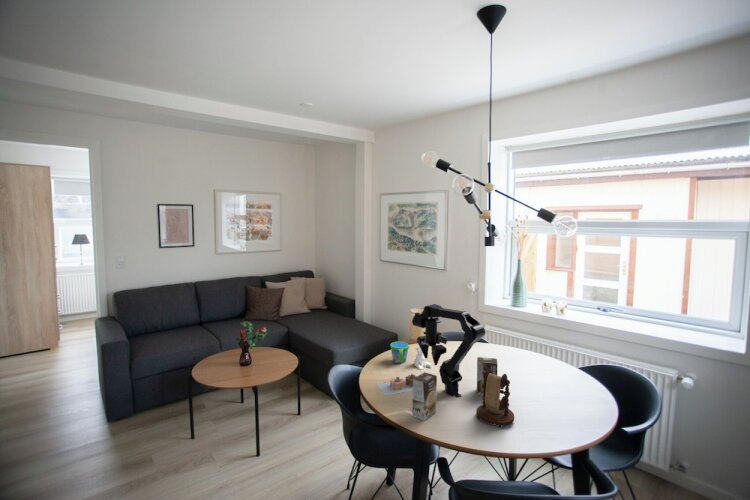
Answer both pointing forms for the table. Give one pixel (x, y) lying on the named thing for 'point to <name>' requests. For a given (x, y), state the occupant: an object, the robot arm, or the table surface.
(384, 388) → the gear board
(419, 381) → the coffee box
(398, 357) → the snack cup
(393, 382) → the salmon gear
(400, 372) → the table surface
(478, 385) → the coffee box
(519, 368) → the table surface
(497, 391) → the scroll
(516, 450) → the table surface
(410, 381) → the walnut gear
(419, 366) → the seated beast figurine
